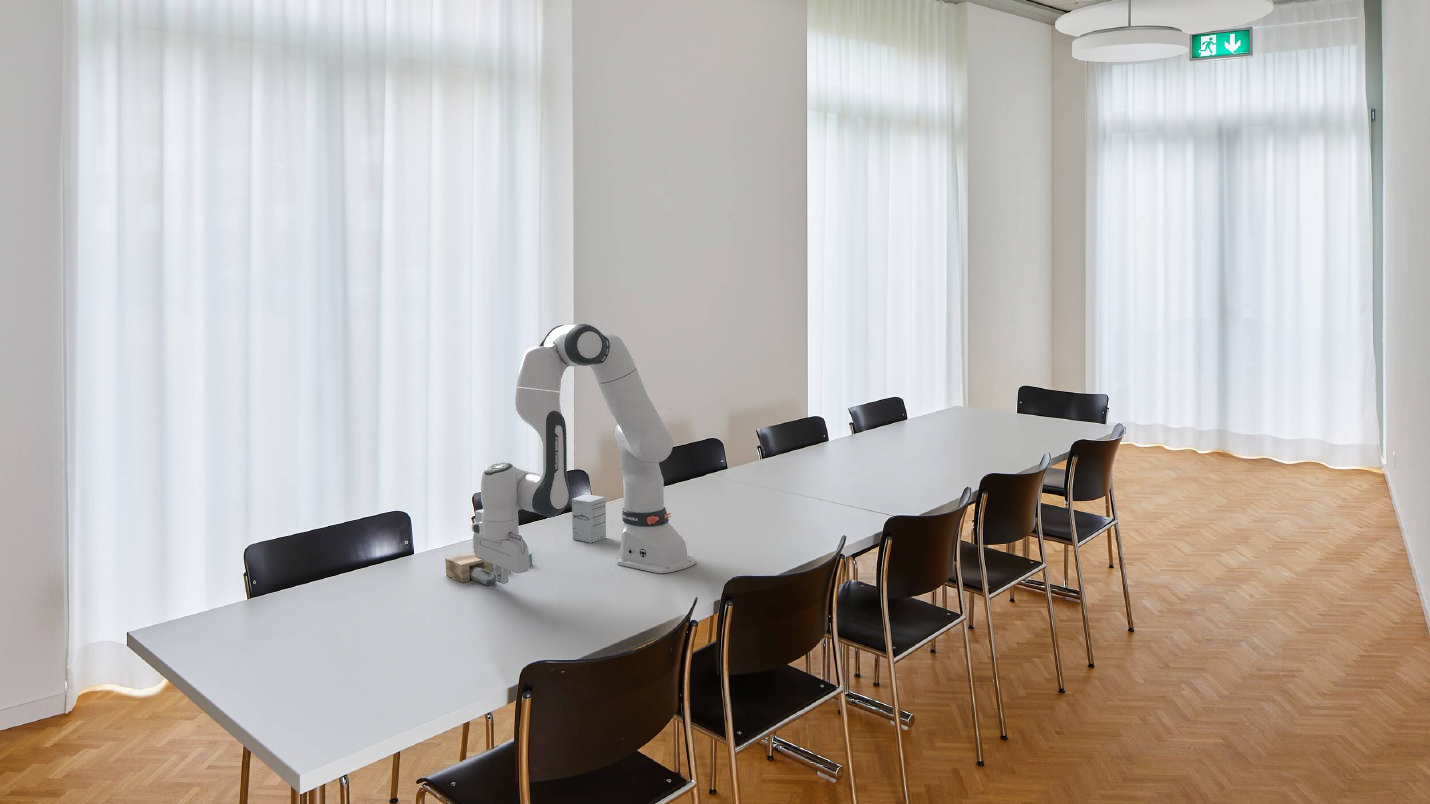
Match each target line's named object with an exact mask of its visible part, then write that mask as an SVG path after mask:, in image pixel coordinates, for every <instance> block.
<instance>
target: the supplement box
mask: <svg viewBox="0 0 1430 804" xmlns="http://www.w3.org/2000/svg"><path fill="white" fill-rule="evenodd" d="M606 502H607V501H606V497H605V496H599V495H595V494H594V495H593V494H588V493H587V494H583V495H580V496H576V497H574V498H571V509H572V510H571V511H572V512H571V513H572V514H571V518H572V521H571V522H572V523H571V524H572V526H571V527H572V540H573V539H574V540H575V541H579V540H580V542H584V541H585V542H586V543H589V544H593V543H596V542H598V541H597V540H599V541H600V539H601V540H603V539H602V538H604V539H606V538H607V517H606V516H607V515H606V514H607V511H606V510H607V509H606V504H607V503H606ZM605 537H606V538H605ZM574 540H573V541H574ZM581 540H582V541H581ZM595 541H596V542H595ZM592 542H593V543H592Z"/></svg>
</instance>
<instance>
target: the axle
mask: <svg viewBox="0 0 1430 804" xmlns="http://www.w3.org/2000/svg"><path fill="white" fill-rule="evenodd" d="M469 573H470V579H471V580H472V579H473V581H476V582H478V583H479V584H482V585H485V586H487V587H490V586H493V584H494V585H495V584H496V582H497V581H496V574H495V572H493V571H492V572H490V571H487V570H485V569H482V568H480V567H477V566H475V565H470V566H469Z"/></svg>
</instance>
